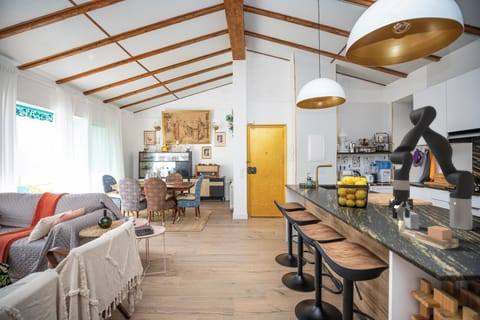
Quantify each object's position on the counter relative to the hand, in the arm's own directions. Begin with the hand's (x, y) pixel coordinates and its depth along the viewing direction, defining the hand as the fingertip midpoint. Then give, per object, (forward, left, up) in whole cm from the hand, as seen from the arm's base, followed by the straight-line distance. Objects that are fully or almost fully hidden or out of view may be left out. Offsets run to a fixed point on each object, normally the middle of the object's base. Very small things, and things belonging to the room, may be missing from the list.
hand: (401, 218), depth 123 cm
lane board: (0, +13, -8) cm, 15 cm away
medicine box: (-14, -5, -8) cm, 17 cm away
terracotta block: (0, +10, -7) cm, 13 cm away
